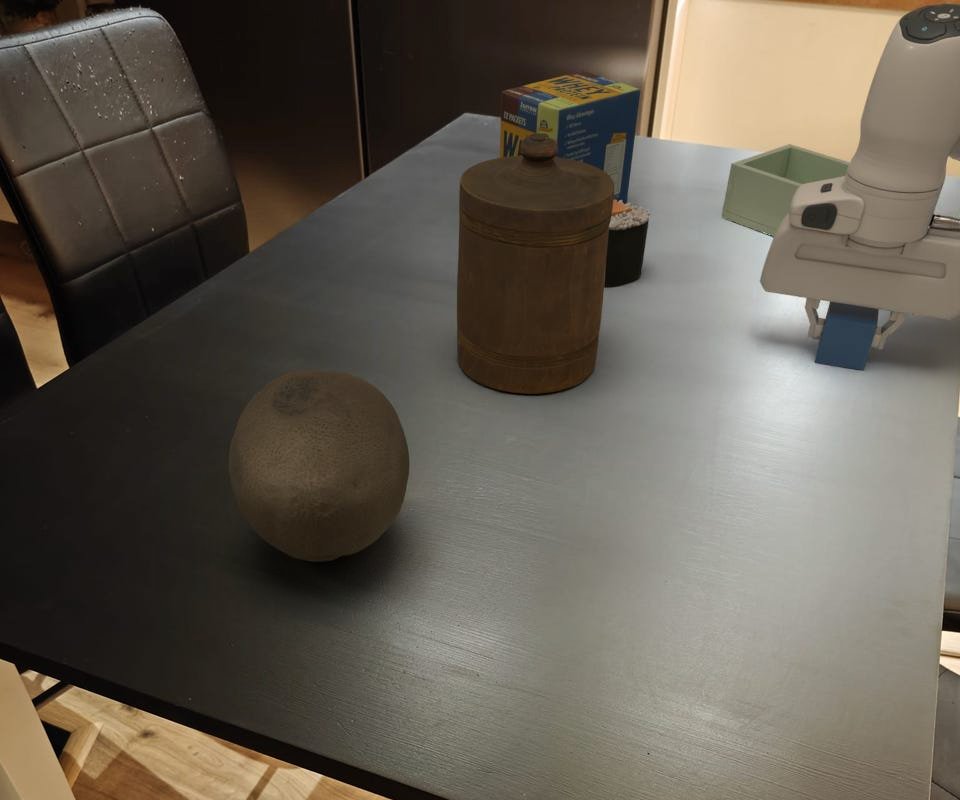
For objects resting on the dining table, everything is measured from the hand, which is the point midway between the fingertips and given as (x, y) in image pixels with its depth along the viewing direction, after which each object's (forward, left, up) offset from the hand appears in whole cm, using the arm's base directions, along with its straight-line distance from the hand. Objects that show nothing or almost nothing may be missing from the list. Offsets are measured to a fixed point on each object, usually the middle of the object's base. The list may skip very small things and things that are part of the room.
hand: (844, 341), depth 100 cm
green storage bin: (+26, -28, -2) cm, 38 cm away
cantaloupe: (+8, +61, -2) cm, 62 cm away
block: (0, 0, -2) cm, 2 cm away
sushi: (+31, +4, -2) cm, 31 cm away
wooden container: (+21, +27, -2) cm, 34 cm away
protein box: (+48, -5, -2) cm, 48 cm away
